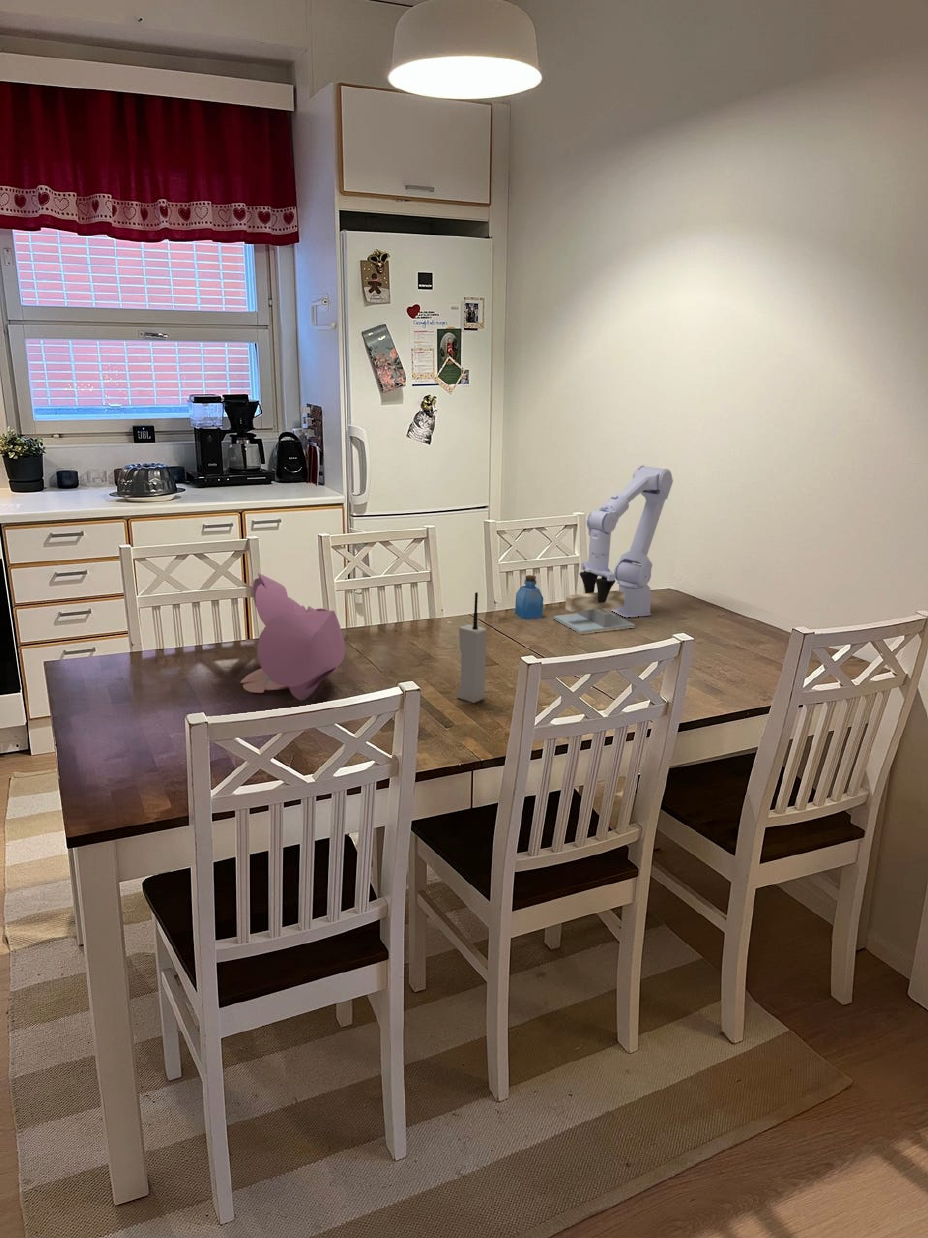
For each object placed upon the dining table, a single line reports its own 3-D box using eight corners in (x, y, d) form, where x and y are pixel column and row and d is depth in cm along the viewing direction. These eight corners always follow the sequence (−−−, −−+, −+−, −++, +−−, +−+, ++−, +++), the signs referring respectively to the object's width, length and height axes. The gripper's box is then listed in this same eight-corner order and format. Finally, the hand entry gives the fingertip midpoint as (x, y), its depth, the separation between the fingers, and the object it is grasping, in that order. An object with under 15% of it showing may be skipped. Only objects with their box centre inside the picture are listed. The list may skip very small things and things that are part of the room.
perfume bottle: (515, 613, 273) (517, 574, 270) (534, 612, 275) (536, 573, 272) (522, 619, 268) (524, 579, 264) (542, 618, 269) (544, 578, 266)
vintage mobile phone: (467, 693, 210) (470, 588, 203) (484, 699, 207) (488, 592, 200) (456, 698, 208) (460, 591, 200) (473, 703, 205) (478, 595, 197)
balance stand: (605, 614, 276) (606, 598, 274) (634, 628, 263) (636, 611, 261) (553, 619, 268) (554, 603, 267) (580, 634, 255) (582, 617, 254)
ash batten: (618, 603, 269) (619, 590, 268) (624, 606, 266) (625, 592, 265) (565, 608, 262) (566, 595, 260) (570, 611, 259) (571, 598, 258)
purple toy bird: (226, 687, 223) (193, 576, 214) (314, 654, 234) (287, 547, 225) (278, 724, 194) (242, 598, 185) (376, 685, 205) (346, 564, 196)
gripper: (573, 548, 264) (570, 594, 268) (601, 559, 251) (597, 607, 255) (594, 546, 267) (590, 592, 271) (622, 557, 254) (618, 605, 258)
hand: (595, 599), depth 263 cm, fingers open, 6 cm apart
